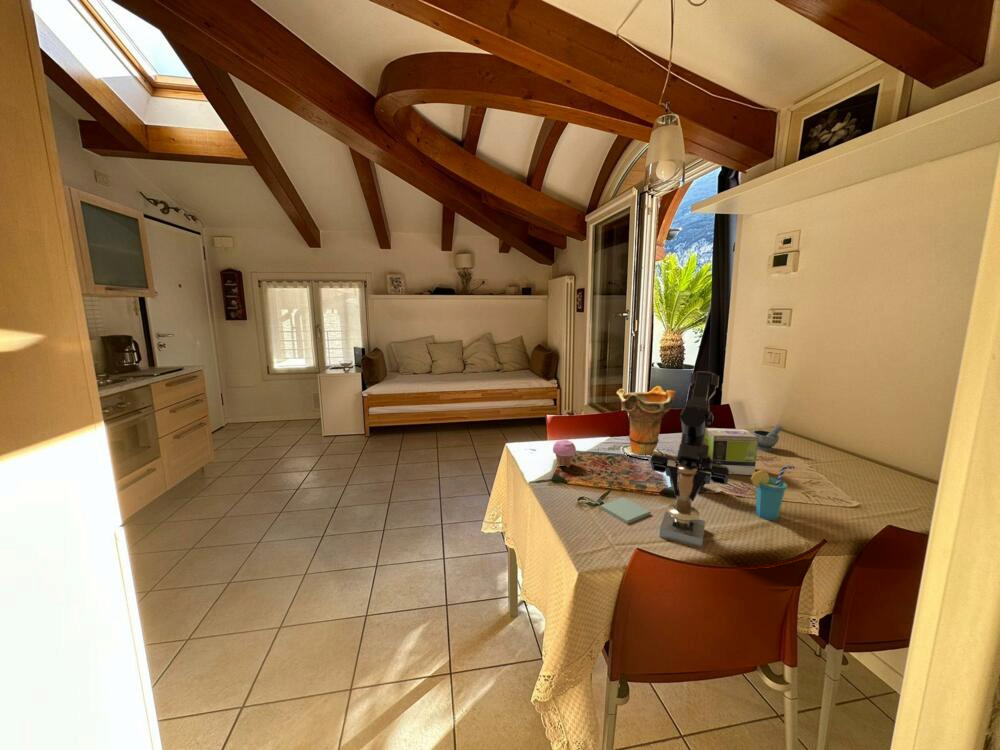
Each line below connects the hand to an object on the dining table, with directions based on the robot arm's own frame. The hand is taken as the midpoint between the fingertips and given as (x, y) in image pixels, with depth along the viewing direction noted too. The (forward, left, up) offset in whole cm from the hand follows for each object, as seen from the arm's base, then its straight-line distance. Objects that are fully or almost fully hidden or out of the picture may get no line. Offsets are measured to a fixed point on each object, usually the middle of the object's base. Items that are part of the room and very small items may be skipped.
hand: (684, 498), depth 104 cm
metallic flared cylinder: (-1, +1, -8) cm, 8 cm away
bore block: (-1, +1, -11) cm, 11 cm away
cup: (-12, +31, -11) cm, 35 cm away
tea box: (-46, +37, -11) cm, 60 cm away
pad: (-12, -11, -11) cm, 20 cm away
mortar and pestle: (-68, +65, -11) cm, 95 cm away
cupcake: (-47, -24, -11) cm, 54 cm away
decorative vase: (-62, +11, -11) cm, 64 cm away
